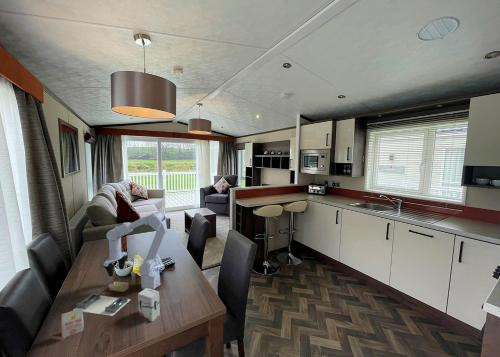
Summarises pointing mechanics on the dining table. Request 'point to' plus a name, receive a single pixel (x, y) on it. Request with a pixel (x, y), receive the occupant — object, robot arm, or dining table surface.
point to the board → (101, 306)
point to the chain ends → (94, 297)
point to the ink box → (149, 304)
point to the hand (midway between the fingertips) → (116, 272)
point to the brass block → (118, 286)
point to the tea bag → (71, 323)
